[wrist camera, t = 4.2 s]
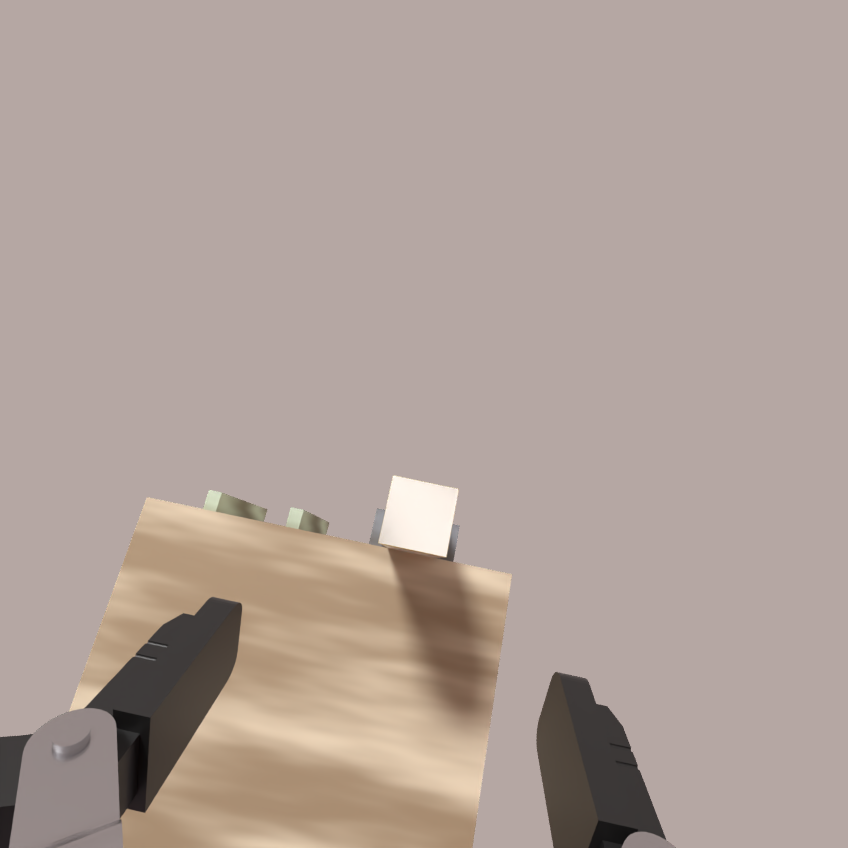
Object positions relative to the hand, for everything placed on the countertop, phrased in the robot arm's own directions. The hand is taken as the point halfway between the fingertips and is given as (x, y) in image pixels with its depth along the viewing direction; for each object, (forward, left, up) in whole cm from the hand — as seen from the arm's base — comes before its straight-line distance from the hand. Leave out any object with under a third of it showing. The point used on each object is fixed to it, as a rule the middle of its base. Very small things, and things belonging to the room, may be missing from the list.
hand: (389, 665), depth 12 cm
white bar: (-15, -12, +3) cm, 19 cm away
